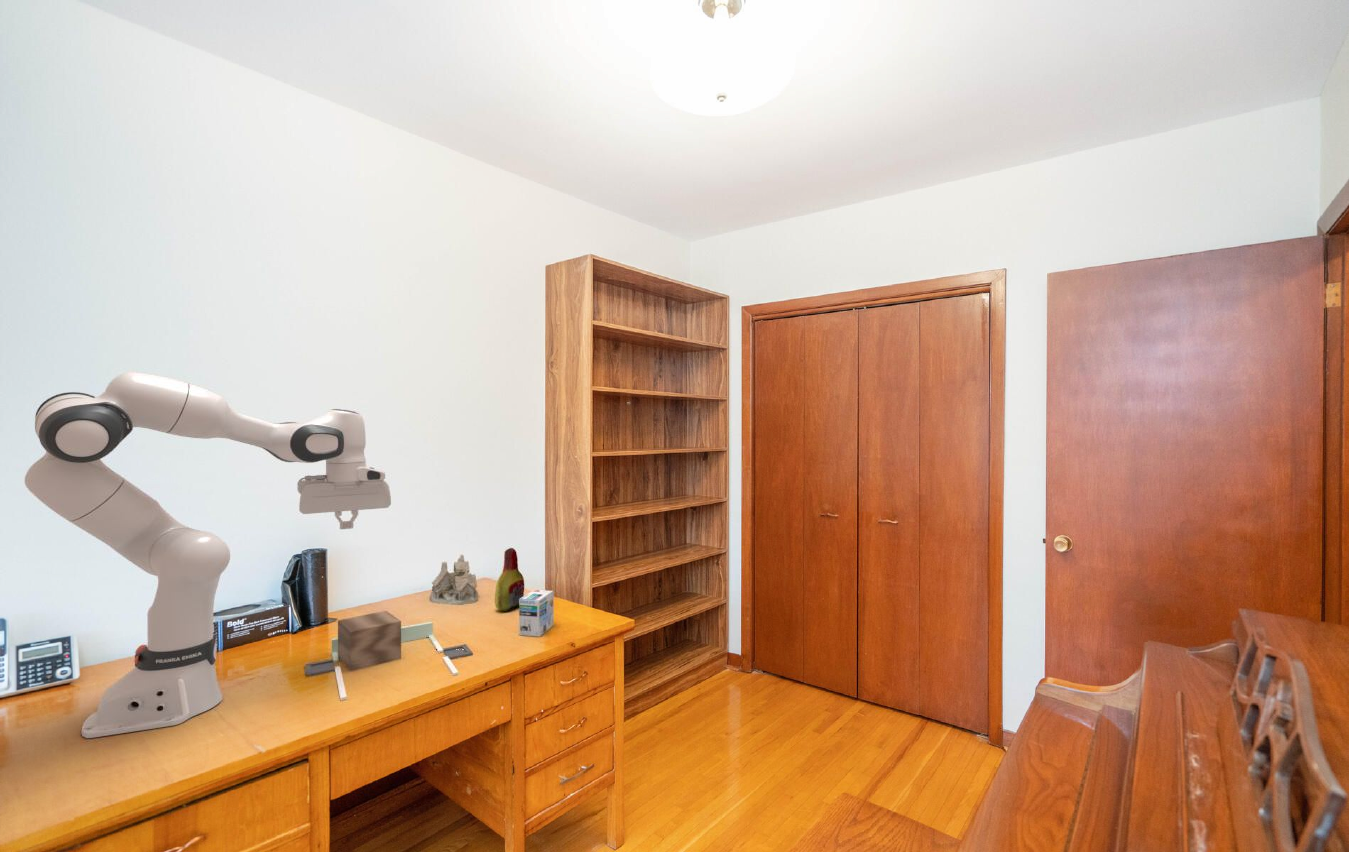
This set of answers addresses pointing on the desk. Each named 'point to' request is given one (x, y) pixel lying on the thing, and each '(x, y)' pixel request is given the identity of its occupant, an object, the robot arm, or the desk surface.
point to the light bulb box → (536, 613)
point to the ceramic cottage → (455, 585)
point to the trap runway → (406, 635)
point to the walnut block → (369, 640)
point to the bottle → (509, 583)
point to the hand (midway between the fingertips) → (346, 528)
